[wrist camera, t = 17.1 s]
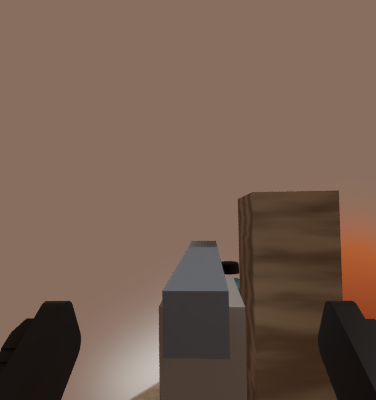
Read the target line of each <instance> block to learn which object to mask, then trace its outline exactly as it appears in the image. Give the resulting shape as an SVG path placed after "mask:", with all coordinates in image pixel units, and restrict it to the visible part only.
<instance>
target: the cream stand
mask: <svg viewBox="0 0 376 400" xmlns="http://www.w3.org/2000/svg"><path fill="white" fill-rule="evenodd" d="M225 279H226V283H227V286H228V290H229V330H230V359H181V358H163V300H162V302H161V304H160V306H159V356H160V357H159V359H160V400H247V367H246V322H245V305H244V303H243V300H242V298H241V295H240V293H239V290H238V288H237V285H236V283H235V280H234V278H233V277H225Z"/></svg>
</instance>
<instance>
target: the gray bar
mask: <svg viewBox="0 0 376 400" xmlns="http://www.w3.org/2000/svg"><path fill="white" fill-rule="evenodd" d="M162 293H163V295H162V296H163V358H181V359H230V330H229V290H228V286H227V283H226V279H225V275H224V271H223V267H222V263H221V259H220V256H219V252H218V248H217V244H216V241H192V242H191V244H190V246H189V247H188V249H187V251H186V252H185V254H184V255H183V257H182V259H181V261H180V262H179V264H178V266H177V267H176V269H175V271H174V272H173V274H172V276H171V277H170V279H169V281H168V283H167V284H166V286H165V288H164V290H163V291H162Z"/></svg>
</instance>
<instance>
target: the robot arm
mask: <svg viewBox="0 0 376 400" xmlns="http://www.w3.org/2000/svg"><path fill="white" fill-rule="evenodd" d="M80 344H81V334H80V330H79V326H78V323H77V320H76V316H75V312H74V308H73V305H72V303H71V302H70V301H46V302H44V303H43V304H42V306H41V307H40V309H39V311H38V312H37V314H36V316H35V317H34V319H26V320H25V321H23V322H22V323H21V324H20V325H19V326H18V327H17V328H16V329H15V330H13V331H12V332H11V334H10V335H9V337H8V338H7V340H6V342H5V343H4V345H3V346H2V348H1V351H0V400H61V398H62V396H63V393H64V390H65V388H66V385H67V383H68V380H69V377H70V375H71V372H72V370H73V367H74V364H75V362H76V359H77V357H78V353H79V350H80ZM318 346H319V351H320V355H321V358H322V361H323V363H324V366H325V368H326V371H327V374H328V376H329V379H330V382H331V384H332V387H333V389H334V392H335V395H336V397H337V400H376V320H375V319H365V318H364V316H363V314H362V313H361V311H360V310H359V308H358V306H357V304H356V303H355V302H353V301H326V302H325V305H324V309H323V314H322V319H321V324H320V328H319V333H318Z"/></svg>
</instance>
